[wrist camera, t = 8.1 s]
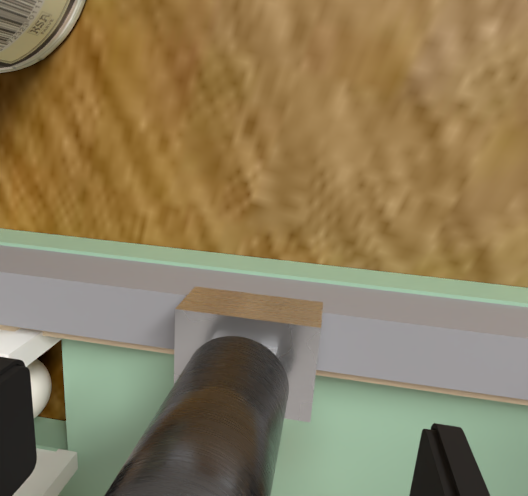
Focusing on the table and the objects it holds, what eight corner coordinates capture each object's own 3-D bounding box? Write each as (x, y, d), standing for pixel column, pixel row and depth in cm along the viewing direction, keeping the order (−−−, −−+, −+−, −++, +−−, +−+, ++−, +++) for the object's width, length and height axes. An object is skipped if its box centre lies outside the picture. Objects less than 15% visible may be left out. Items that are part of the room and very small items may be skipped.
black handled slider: (325, 275, 18) (299, 613, 5) (302, 476, 20) (249, 1013, 8) (215, 262, 18) (-32, 543, 6) (207, 460, 21) (23, 937, 9)
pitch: (625, 299, 18) (755, 376, 13) (542, 569, 22) (612, 721, 17) (-32, 224, 22) (-159, 258, 17) (-5, 466, 26) (-100, 561, 21)
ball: (-55, 374, 20) (-6, 337, 24) (-46, 442, 21) (1, 397, 25) (24, 381, 20) (62, 343, 24) (30, 449, 21) (65, 402, 25)
